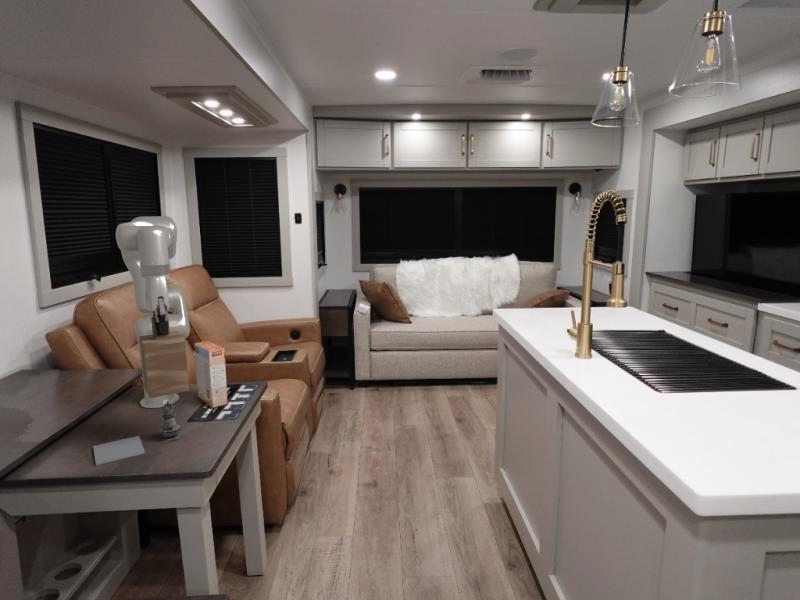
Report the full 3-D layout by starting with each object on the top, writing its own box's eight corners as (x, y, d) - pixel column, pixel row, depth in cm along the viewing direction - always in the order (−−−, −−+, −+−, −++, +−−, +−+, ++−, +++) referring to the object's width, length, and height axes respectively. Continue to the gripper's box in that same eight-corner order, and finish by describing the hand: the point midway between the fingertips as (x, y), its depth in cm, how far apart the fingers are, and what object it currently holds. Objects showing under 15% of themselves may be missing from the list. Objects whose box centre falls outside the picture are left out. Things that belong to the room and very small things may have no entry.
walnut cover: (144, 387, 150) (136, 316, 146) (181, 380, 156) (175, 312, 152) (149, 398, 141) (141, 323, 137) (189, 390, 147) (183, 318, 143)
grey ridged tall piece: (175, 432, 156) (172, 395, 153) (185, 437, 152) (182, 400, 150) (157, 438, 151) (153, 401, 149) (166, 444, 147) (162, 406, 145)
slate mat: (93, 448, 145) (93, 446, 145) (139, 437, 152) (139, 435, 152) (96, 465, 136) (95, 463, 135) (144, 453, 142) (144, 451, 142)
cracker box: (229, 404, 177) (225, 347, 173) (212, 409, 173) (207, 351, 169) (214, 393, 187) (209, 339, 183) (197, 397, 183) (193, 342, 179)
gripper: (136, 268, 147) (142, 329, 150) (144, 275, 133) (151, 341, 137) (164, 266, 151) (169, 325, 154) (175, 273, 137) (180, 337, 141)
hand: (161, 332), depth 145 cm, fingers closed on walnut cover, 4 cm apart
